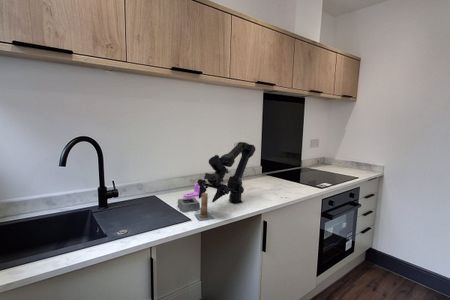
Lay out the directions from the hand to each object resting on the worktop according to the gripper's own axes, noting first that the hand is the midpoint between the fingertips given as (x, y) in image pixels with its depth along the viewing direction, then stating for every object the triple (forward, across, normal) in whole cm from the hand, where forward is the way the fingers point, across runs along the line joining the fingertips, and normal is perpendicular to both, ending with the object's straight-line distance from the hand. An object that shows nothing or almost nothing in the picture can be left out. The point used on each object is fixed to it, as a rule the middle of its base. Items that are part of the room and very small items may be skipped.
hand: (205, 200), depth 126 cm
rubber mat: (+7, 0, +5) cm, 9 cm away
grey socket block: (+4, -15, +8) cm, 18 cm away
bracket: (-8, -28, +21) cm, 36 cm away
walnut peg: (+7, 0, +5) cm, 8 cm away
